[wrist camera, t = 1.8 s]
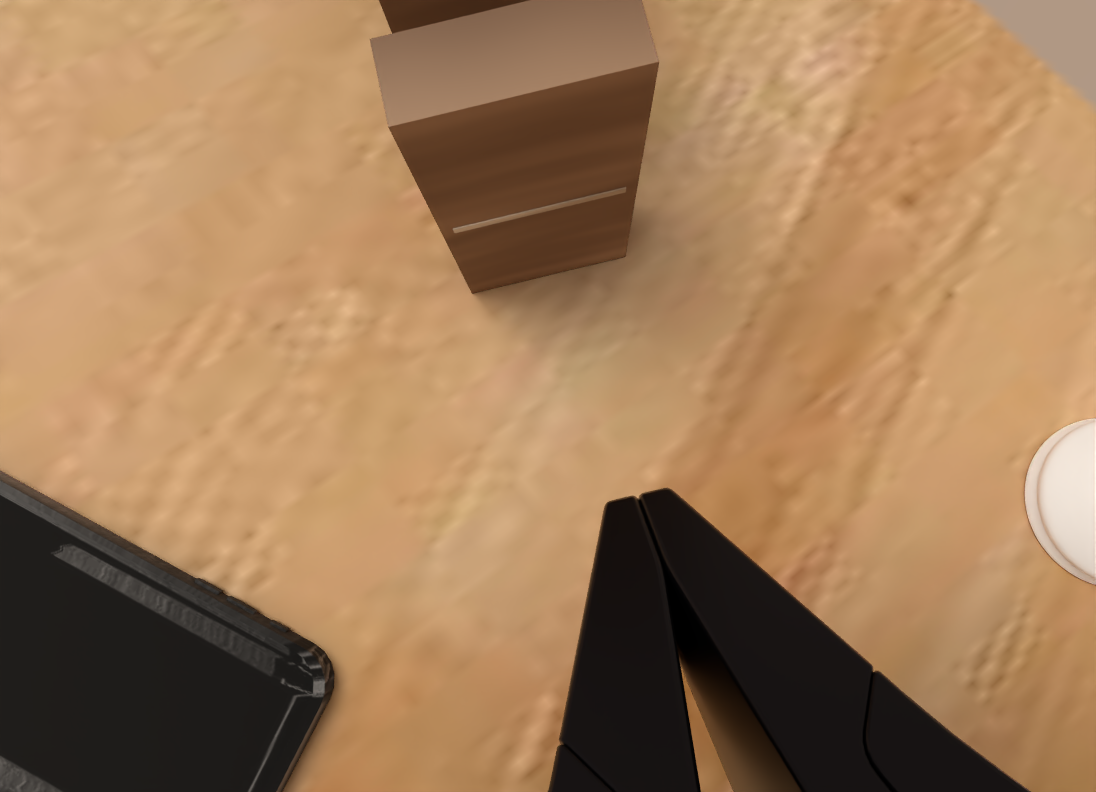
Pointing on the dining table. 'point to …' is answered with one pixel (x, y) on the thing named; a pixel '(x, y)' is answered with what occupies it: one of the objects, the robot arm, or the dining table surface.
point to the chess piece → (1066, 498)
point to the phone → (138, 667)
